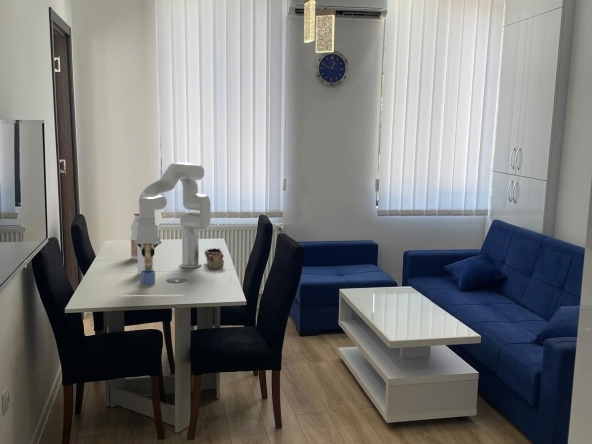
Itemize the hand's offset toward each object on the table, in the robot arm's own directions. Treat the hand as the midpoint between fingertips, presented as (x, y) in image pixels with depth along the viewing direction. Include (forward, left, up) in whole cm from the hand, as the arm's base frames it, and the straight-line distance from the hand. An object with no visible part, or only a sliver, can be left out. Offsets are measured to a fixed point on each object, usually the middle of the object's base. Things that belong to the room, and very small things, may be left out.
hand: (148, 255), depth 316 cm
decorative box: (-41, +31, -15) cm, 54 cm away
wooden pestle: (0, 0, -7) cm, 7 cm away
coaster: (-5, +14, -15) cm, 21 cm away
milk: (-20, -4, -15) cm, 25 cm away
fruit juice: (-59, -13, -15) cm, 62 cm away
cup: (0, 0, -15) cm, 15 cm away
